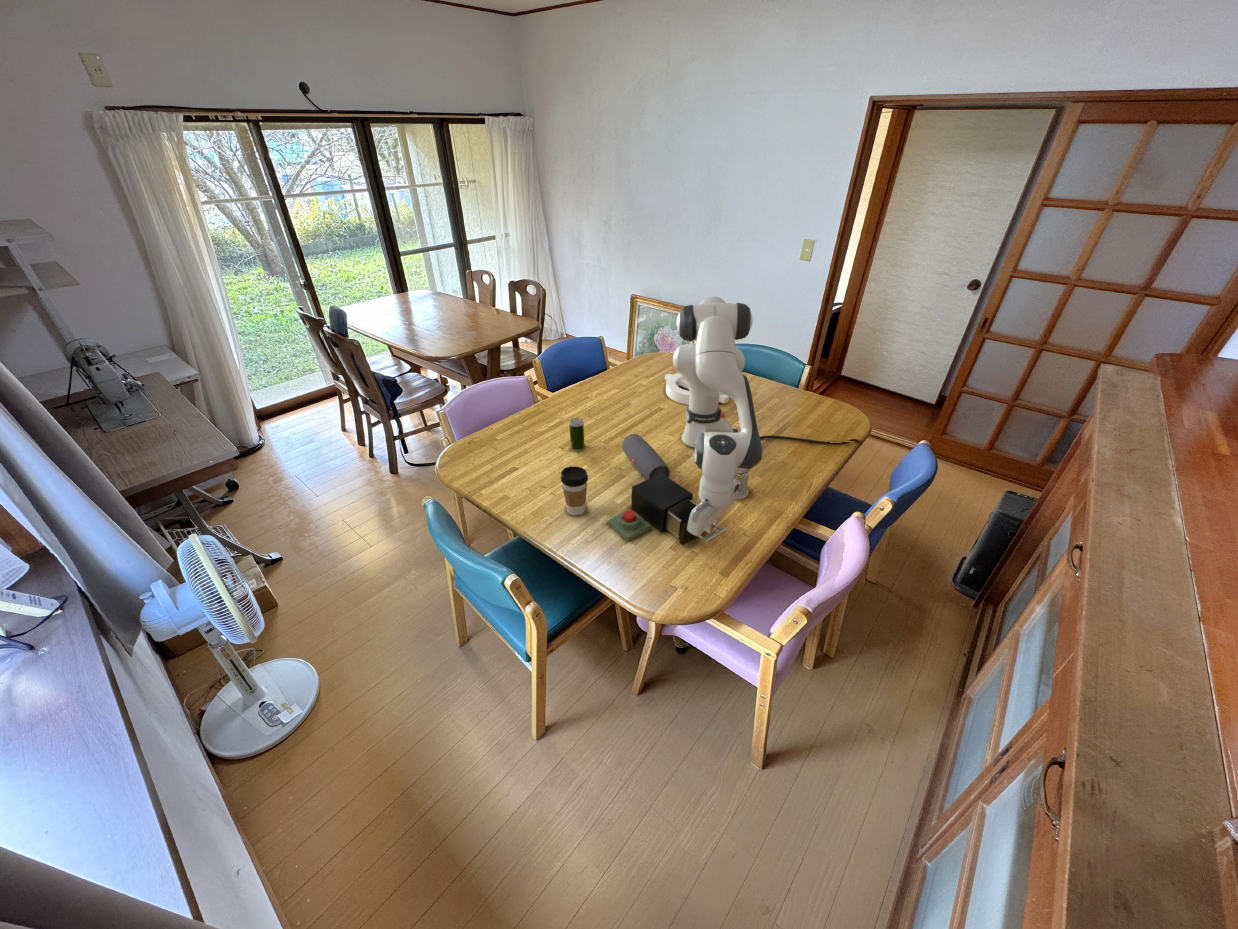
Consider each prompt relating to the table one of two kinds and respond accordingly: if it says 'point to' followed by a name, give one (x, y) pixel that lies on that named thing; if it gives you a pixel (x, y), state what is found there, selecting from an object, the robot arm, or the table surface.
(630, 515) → the stop button
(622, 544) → the table surface
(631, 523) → the control block
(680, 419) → the table surface
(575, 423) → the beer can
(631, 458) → the bluetooth speaker
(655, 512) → the dark drawer cabinet
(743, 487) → the french press
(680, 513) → the black drawer
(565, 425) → the table surface
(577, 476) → the coffee cup
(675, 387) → the white circle with bar
